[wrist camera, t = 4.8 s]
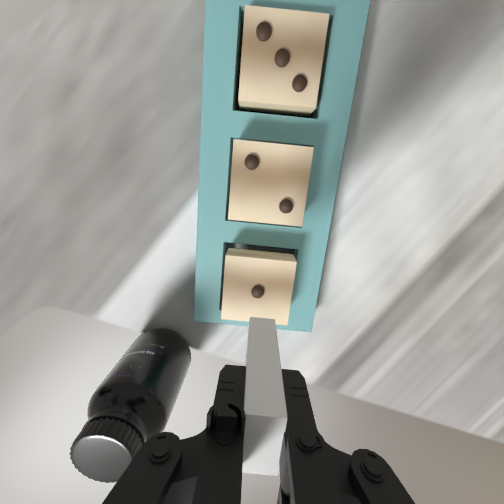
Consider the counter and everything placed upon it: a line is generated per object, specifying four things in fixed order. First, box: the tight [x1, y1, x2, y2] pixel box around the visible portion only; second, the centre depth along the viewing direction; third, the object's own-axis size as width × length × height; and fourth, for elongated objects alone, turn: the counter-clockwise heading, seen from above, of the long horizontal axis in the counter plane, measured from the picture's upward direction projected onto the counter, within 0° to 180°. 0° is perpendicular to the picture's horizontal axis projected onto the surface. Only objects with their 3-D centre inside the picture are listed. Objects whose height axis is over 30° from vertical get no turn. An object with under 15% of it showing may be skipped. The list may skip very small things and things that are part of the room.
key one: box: [221, 248, 297, 325], centre depth 23 cm, size 6×6×3 cm
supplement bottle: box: [70, 329, 191, 483], centre depth 24 cm, size 7×7×12 cm
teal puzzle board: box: [194, 0, 370, 332], centre depth 23 cm, size 28×12×2 cm, turn 175°
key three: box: [238, 5, 329, 116], centre depth 20 cm, size 6×6×3 cm
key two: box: [228, 139, 314, 227], centre depth 21 cm, size 6×6×3 cm
